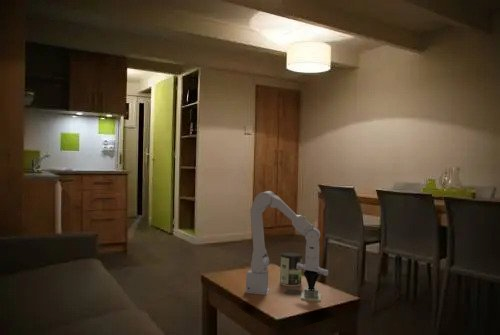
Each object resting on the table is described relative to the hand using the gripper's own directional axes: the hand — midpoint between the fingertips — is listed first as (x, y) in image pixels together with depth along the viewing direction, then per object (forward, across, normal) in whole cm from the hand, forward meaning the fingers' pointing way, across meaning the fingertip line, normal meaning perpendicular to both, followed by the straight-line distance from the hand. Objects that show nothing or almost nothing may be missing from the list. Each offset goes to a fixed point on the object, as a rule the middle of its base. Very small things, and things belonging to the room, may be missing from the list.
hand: (311, 288), depth 161 cm
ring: (+3, 0, 0) cm, 3 cm away
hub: (+4, 0, 0) cm, 4 cm away
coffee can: (+4, +18, -10) cm, 21 cm away
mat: (+4, +9, 0) cm, 10 cm away
